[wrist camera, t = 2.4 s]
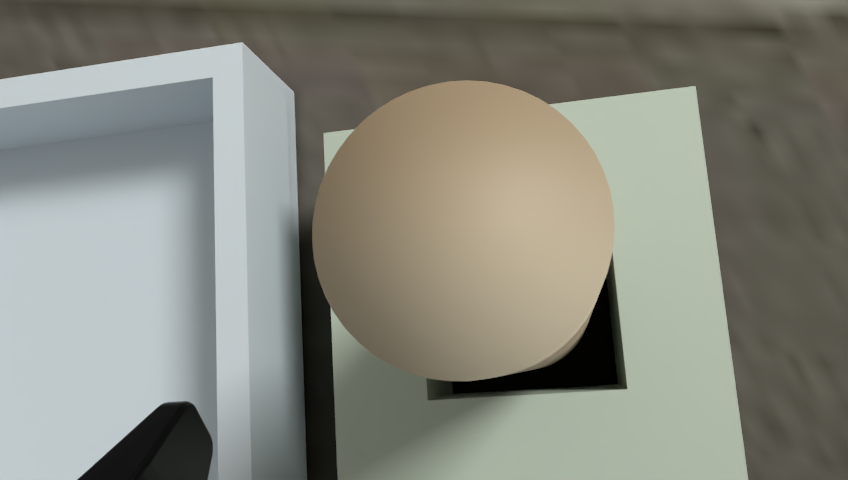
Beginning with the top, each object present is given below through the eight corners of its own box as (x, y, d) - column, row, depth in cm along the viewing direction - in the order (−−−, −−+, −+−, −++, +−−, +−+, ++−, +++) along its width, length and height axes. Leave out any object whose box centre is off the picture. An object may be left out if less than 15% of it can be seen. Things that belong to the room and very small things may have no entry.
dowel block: (716, 467, 18) (749, 492, 14) (379, 479, 19) (338, 505, 16) (673, 134, 19) (695, 85, 16) (364, 170, 21) (323, 133, 17)
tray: (313, 669, 19) (256, 735, 16) (-191, 663, 22) (-332, 719, 18) (293, 92, 22) (241, 42, 18) (-152, 154, 24) (-268, 120, 21)
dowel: (595, 365, 19) (632, 371, 7) (470, 373, 19) (317, 389, 8) (582, 241, 19) (597, 61, 8) (461, 252, 20) (306, 100, 8)
